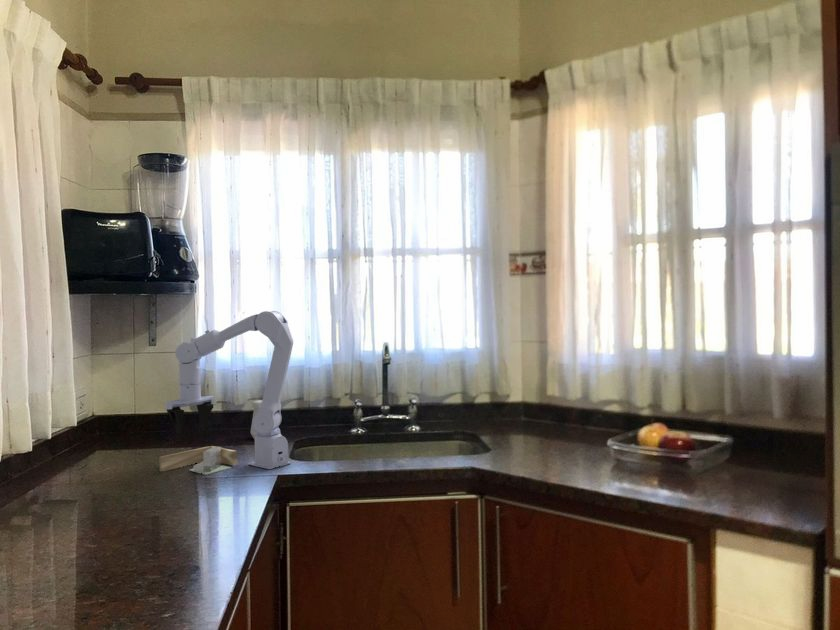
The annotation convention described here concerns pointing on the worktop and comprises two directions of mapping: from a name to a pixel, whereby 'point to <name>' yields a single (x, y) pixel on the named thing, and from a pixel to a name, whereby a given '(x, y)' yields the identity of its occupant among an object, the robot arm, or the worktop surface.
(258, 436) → the robot arm
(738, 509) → the worktop surface
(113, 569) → the worktop surface
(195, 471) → the pad
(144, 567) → the worktop surface
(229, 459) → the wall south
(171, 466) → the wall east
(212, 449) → the bracket
